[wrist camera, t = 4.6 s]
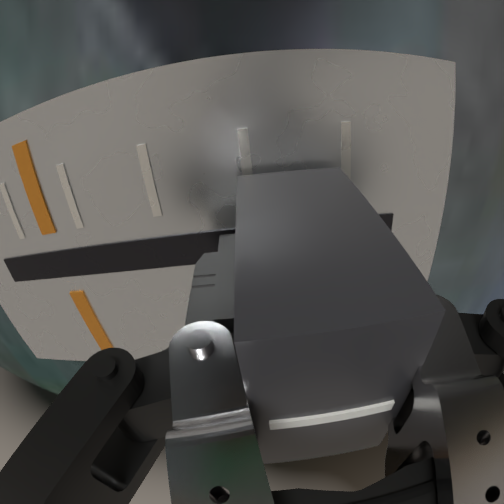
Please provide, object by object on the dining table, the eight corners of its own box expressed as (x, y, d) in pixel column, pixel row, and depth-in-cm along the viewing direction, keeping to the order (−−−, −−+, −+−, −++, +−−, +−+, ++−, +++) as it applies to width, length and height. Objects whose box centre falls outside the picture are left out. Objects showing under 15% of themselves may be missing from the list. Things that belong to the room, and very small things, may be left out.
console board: (425, 58, 9) (456, 62, 7) (397, 305, 15) (411, 334, 14) (-37, 144, 9) (-65, 160, 8) (48, 333, 16) (36, 359, 14)
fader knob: (339, 167, 9) (447, 313, 4) (334, 297, 12) (379, 447, 7) (236, 176, 9) (234, 346, 4) (254, 306, 12) (263, 466, 7)
